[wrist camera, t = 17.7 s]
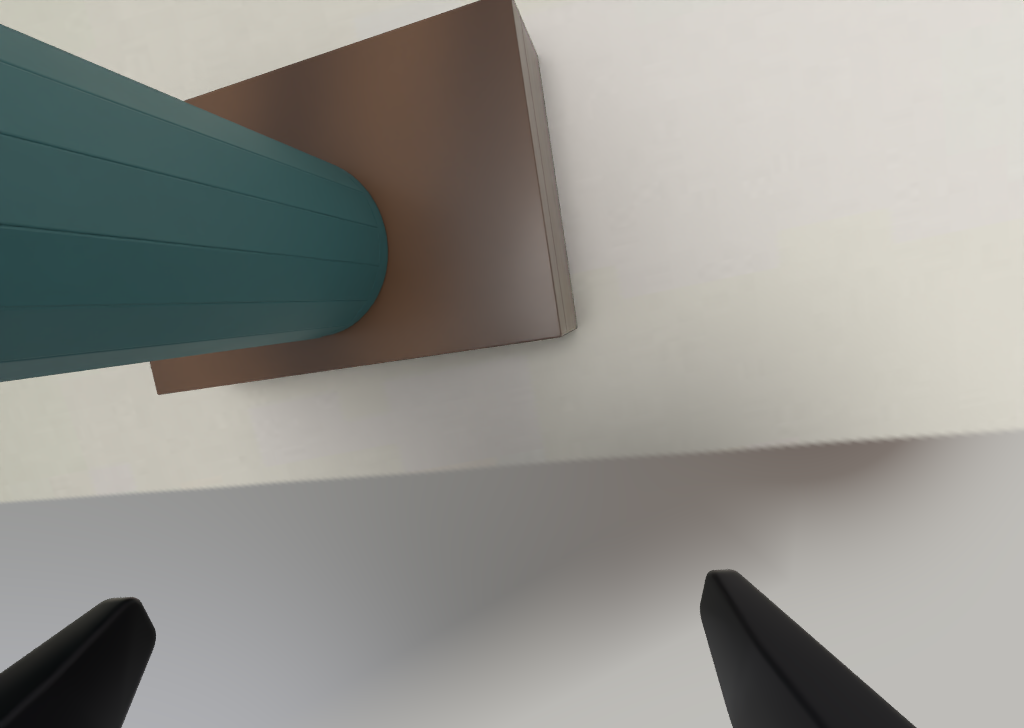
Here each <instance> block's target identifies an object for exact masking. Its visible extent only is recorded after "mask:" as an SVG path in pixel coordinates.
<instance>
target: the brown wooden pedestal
mask: <svg viewBox="0 0 1024 728" xmlns="http://www.w3.org/2000/svg"><path fill="white" fill-rule="evenodd" d="M184 102H186V103H189V104H191V105H193V106H196V107H198V108H201V109H203V110H205V111H208V112H210V113H212V114H215V115H217V116H219V117H222V118H224V119H227V120H229V121H231V122H234V123H236V124H238V125H241V126H243V127H246V128H248V129H250V130H253V131H255V132H257V133H260V134H262V135H264V136H267V137H269V138H272V139H274V140H276V141H279V142H281V143H283V144H286V145H288V146H291V147H293V148H295V149H298V150H300V151H302V152H305V153H307V154H310V155H312V156H314V157H317V158H319V159H321V160H324V161H326V162H328V163H331V164H333V165H336V166H338V167H339V168H341V169H343V170H345V171H346V172H348V173H349V174H351V175H352V176H353V177H355V178H356V179H357V180H358V181H359V182H360V183H361V184H362V185H363V186H364V188H365V189H366V190H367V191H368V192H369V194H370V195H371V197H372V198H373V200H374V202H375V203H376V205H377V207H378V210H379V212H380V214H381V217H382V220H383V223H384V226H385V230H386V235H387V244H388V262H387V269H386V274H385V278H384V282H383V285H382V287H381V290H380V292H379V294H378V296H377V298H376V300H375V302H374V303H373V305H372V306H371V307H370V309H369V310H368V311H367V313H366V314H365V315H364V316H363V317H362V318H361V319H360V320H358V321H357V322H356V323H355V324H353V325H352V326H350V327H348V328H347V329H345V330H343V331H341V332H338V333H335V334H332V335H327V336H323V337H321V338H316V339H309V340H302V341H294V342H287V343H280V344H273V345H265V346H258V347H251V348H244V349H236V350H229V351H222V352H215V353H207V354H200V355H193V356H185V357H178V358H171V359H164V360H156V361H150V364H151V369H152V373H153V377H154V381H155V386H156V390H157V394H158V395H161V394H168V393H175V392H182V391H189V390H196V389H203V388H210V387H217V386H224V385H231V384H238V383H245V382H252V381H259V380H266V379H273V378H280V377H287V376H294V375H301V374H308V373H314V372H321V371H328V370H335V369H342V368H349V367H356V366H363V365H370V364H377V363H384V362H391V361H398V360H405V359H412V358H419V357H426V356H433V355H440V354H447V353H454V352H461V351H468V350H475V349H481V348H488V347H495V346H502V345H509V344H516V343H523V342H530V341H537V340H544V339H551V338H558V337H562V336H563V335H565V334H567V333H569V332H571V331H572V330H574V329H576V328H577V322H576V315H575V308H574V301H573V294H572V288H571V281H570V274H569V267H568V260H567V253H566V246H565V240H564V233H563V226H562V219H561V212H560V205H559V199H558V192H557V185H556V178H555V171H554V164H553V157H552V151H551V144H550V137H549V130H548V123H547V116H546V110H545V103H544V96H543V89H542V82H541V75H540V68H539V62H538V55H537V53H536V50H535V48H534V46H533V43H532V41H531V39H530V36H529V34H528V32H527V29H526V27H525V25H524V22H523V20H522V18H521V15H520V13H519V10H518V8H517V6H516V3H515V1H514V0H480V1H477V2H474V3H471V4H468V5H465V6H462V7H459V8H456V9H453V10H450V11H447V12H444V13H441V14H438V15H436V16H433V17H430V18H427V19H424V20H421V21H418V22H415V23H412V24H409V25H406V26H403V27H400V28H397V29H394V30H391V31H388V32H385V33H383V34H380V35H377V36H374V37H371V38H368V39H365V40H362V41H359V42H356V43H353V44H350V45H347V46H344V47H341V48H338V49H335V50H333V51H330V52H327V53H324V54H321V55H318V56H315V57H312V58H309V59H306V60H303V61H300V62H297V63H294V64H291V65H288V66H285V67H282V68H280V69H277V70H274V71H271V72H268V73H265V74H262V75H259V76H256V77H253V78H250V79H247V80H244V81H241V82H238V83H235V84H232V85H229V86H227V87H224V88H221V89H218V90H215V91H212V92H209V93H206V94H203V95H200V96H197V97H194V98H191V99H188V100H185V101H184Z"/></svg>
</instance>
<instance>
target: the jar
mask: <svg viewBox="0 0 1024 728" xmlns="http://www.w3.org/2000/svg"><path fill="white" fill-rule="evenodd" d="M387 262H388V244H387V235H386V230H385V226H384V223H383V220H382V217H381V214H380V212H379V210H378V207H377V205H376V203H375V202H374V200H373V198H372V197H371V195H370V194H369V192H368V191H367V190H366V189H365V188H364V186H363V185H362V184H361V183H360V182H359V181H358V180H357V179H356V178H355V177H353V176H352V175H351V174H349V173H348V172H346V171H345V170H343V169H341V168H339V167H338V166H336V165H333V164H331V163H328V162H326V161H324V160H321V159H319V158H317V157H314V156H312V155H310V154H307V153H305V152H302V151H300V150H298V149H295V148H293V147H291V146H288V145H286V144H283V143H281V142H279V141H276V140H274V139H272V138H269V137H267V136H264V135H262V134H260V133H257V132H255V131H253V130H250V129H248V128H246V127H243V126H241V125H238V124H236V123H234V122H231V121H229V120H227V119H224V118H222V117H219V116H217V115H215V114H212V113H210V112H208V111H205V110H203V109H201V108H198V107H196V106H193V105H191V104H189V103H186V102H184V101H182V100H179V99H177V98H174V97H172V96H170V95H167V94H165V93H163V92H160V91H158V90H156V89H153V88H151V87H148V86H146V85H144V84H141V83H139V82H137V81H134V80H132V79H129V78H127V77H125V76H122V75H120V74H118V73H115V72H113V71H111V70H108V69H106V68H103V67H101V66H99V65H96V64H94V63H92V62H89V61H87V60H84V59H82V58H80V57H77V56H75V55H73V54H70V53H68V52H66V51H63V50H61V49H58V48H56V47H54V46H51V45H49V44H47V43H44V42H42V41H39V40H37V39H35V38H32V37H30V36H28V35H25V34H23V33H20V32H18V31H16V30H13V29H11V28H9V27H6V26H4V25H2V24H0V382H4V381H11V380H19V379H26V378H33V377H40V376H48V375H55V374H62V373H69V372H77V371H84V370H91V369H98V368H106V367H113V366H120V365H127V364H135V363H142V362H149V361H156V360H164V359H171V358H178V357H185V356H193V355H200V354H207V353H215V352H222V351H229V350H236V349H244V348H251V347H258V346H265V345H273V344H280V343H287V342H294V341H302V340H309V339H316V338H321V337H323V336H327V335H332V334H335V333H338V332H341V331H343V330H345V329H347V328H348V327H350V326H352V325H353V324H355V323H356V322H357V321H358V320H360V319H361V318H362V317H363V316H364V315H365V314H366V313H367V311H368V310H369V309H370V307H371V306H372V305H373V303H374V302H375V300H376V298H377V296H378V294H379V292H380V290H381V287H382V285H383V282H384V278H385V274H386V269H387Z"/></svg>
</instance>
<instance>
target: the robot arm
mask: <svg viewBox="0 0 1024 728" xmlns="http://www.w3.org/2000/svg"><path fill="white" fill-rule="evenodd" d="M700 614H701V619H702V623H703V627H704V630H705V634H706V637H707V640H708V644H709V648H710V651H711V655H712V658H713V662H714V665H715V668H716V672H717V676H718V679H719V683H720V686H721V690H722V693H723V697H724V700H725V704H726V707H727V711H728V714H729V717H730V720H731V723H732V726H733V728H916V727H915V726H914V725H912V723H910V722H909V721H908V720H907V719H906V718H905V717H903V716H902V715H901V714H900V713H899V712H898V711H897V710H895V709H894V708H893V707H892V706H891V705H890V704H889V703H887V702H886V701H885V700H884V699H883V698H882V697H880V696H879V695H878V694H877V693H876V692H875V691H874V690H873V689H871V688H870V687H869V686H868V685H867V684H866V683H864V682H863V681H862V680H861V679H860V678H859V677H858V676H856V675H855V674H854V673H853V672H852V671H851V670H850V669H848V668H847V667H846V666H845V665H844V664H843V663H842V662H840V661H839V660H838V659H837V658H836V657H835V656H834V655H832V654H831V653H830V652H829V651H828V650H827V649H825V648H824V647H823V646H822V645H821V644H819V642H817V641H816V640H815V639H814V638H813V637H812V636H811V635H809V634H808V633H807V632H806V631H805V630H804V629H803V628H801V627H800V626H799V625H798V624H797V623H796V622H795V621H793V620H792V619H791V618H790V617H788V615H786V614H785V613H784V612H783V611H782V610H781V609H780V608H778V607H777V606H776V605H775V604H774V603H773V602H772V601H770V600H769V599H768V598H767V597H766V596H765V595H764V594H762V593H761V592H760V591H759V590H758V589H757V588H755V587H754V586H753V585H752V584H751V583H750V582H748V581H747V580H746V579H745V578H744V577H743V576H742V575H740V574H739V573H738V572H736V571H734V570H712V571H710V572H709V573H708V574H707V576H706V580H705V584H704V589H703V594H702V599H701V603H700ZM155 641H156V632H155V628H154V626H153V624H152V622H151V621H150V619H149V617H148V615H147V613H146V611H145V609H144V607H143V605H142V603H141V602H140V600H139V599H137V598H134V597H125V598H111V599H107V600H105V601H103V602H101V603H100V604H98V605H97V606H95V607H94V608H92V609H91V610H90V611H88V612H87V613H85V614H84V615H83V616H81V617H80V618H78V619H77V620H75V621H74V622H73V623H71V624H70V625H68V626H67V627H66V628H64V629H63V630H61V631H60V632H58V633H57V634H56V635H54V636H53V637H51V638H50V639H49V640H47V641H46V642H44V643H43V644H42V645H40V646H39V647H37V648H36V649H34V650H33V651H32V652H30V653H29V654H27V655H26V656H25V657H23V658H22V659H20V660H19V661H17V662H16V663H15V664H13V665H12V666H10V667H9V668H7V669H6V670H5V671H3V672H2V673H0V728H121V727H122V724H123V722H124V720H125V717H126V714H127V712H128V710H129V707H130V705H131V703H132V700H133V698H134V695H135V693H136V690H137V688H138V685H139V683H140V680H141V677H142V675H143V673H144V671H145V668H146V665H147V663H148V661H149V658H150V656H151V653H152V651H153V648H154V645H155Z"/></svg>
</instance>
